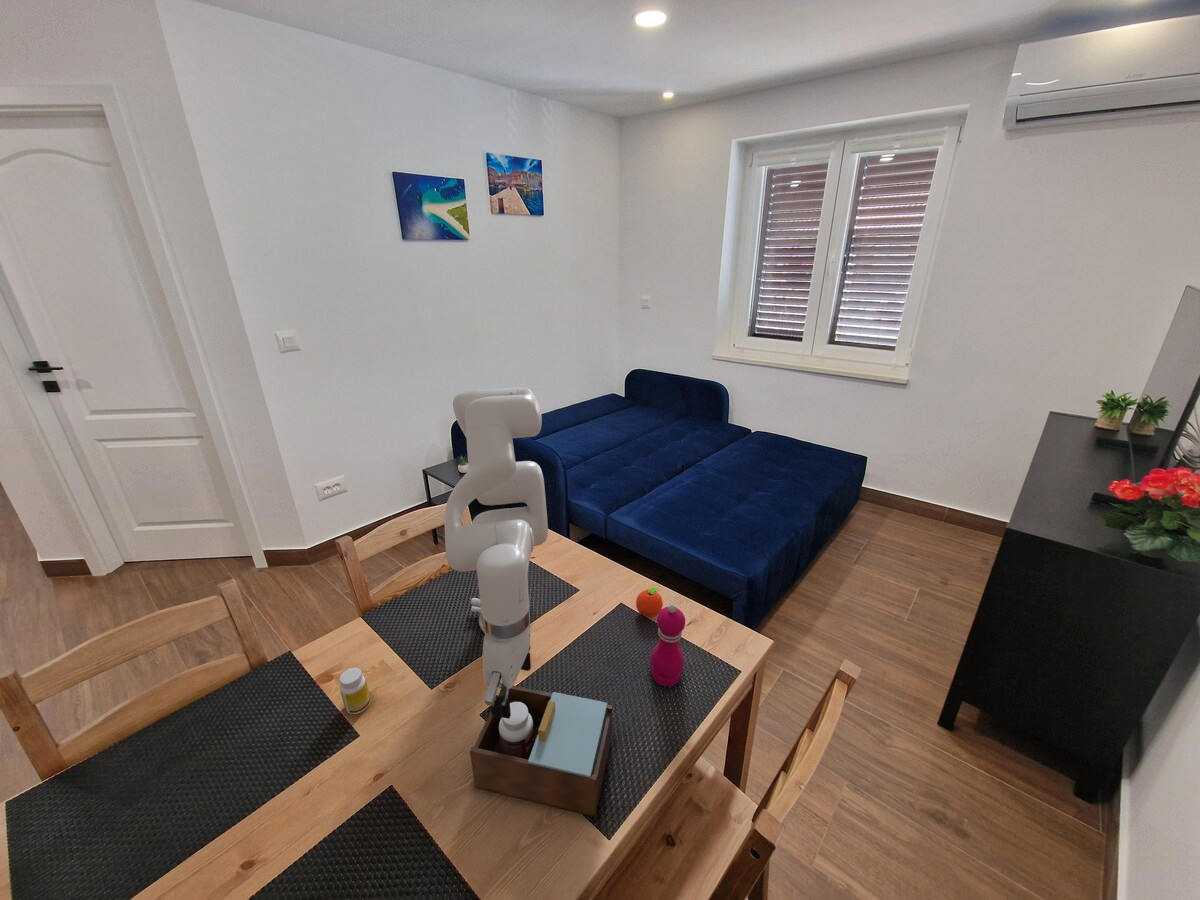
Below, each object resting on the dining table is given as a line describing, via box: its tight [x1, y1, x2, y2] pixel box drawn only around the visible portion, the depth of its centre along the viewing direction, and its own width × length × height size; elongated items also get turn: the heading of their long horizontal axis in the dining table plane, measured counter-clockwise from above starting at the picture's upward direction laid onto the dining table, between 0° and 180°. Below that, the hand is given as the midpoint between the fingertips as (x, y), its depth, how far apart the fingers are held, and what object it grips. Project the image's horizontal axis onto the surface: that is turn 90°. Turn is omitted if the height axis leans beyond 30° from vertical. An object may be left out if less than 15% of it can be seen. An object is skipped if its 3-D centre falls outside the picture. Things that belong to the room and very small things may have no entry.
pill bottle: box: [499, 702, 534, 760], centre depth 89 cm, size 6×6×11 cm
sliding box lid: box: [528, 691, 608, 778], centre depth 85 cm, size 11×14×3 cm
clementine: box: [635, 587, 664, 618], centre depth 126 cm, size 8×7×7 cm
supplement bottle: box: [339, 667, 371, 715], centre depth 99 cm, size 5×5×8 cm
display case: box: [469, 685, 613, 818], centre depth 88 cm, size 22×14×10 cm, turn 78°
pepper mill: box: [650, 603, 686, 687], centre depth 105 cm, size 7×7×20 cm
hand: (512, 690), depth 85 cm, fingers open, 9 cm apart
